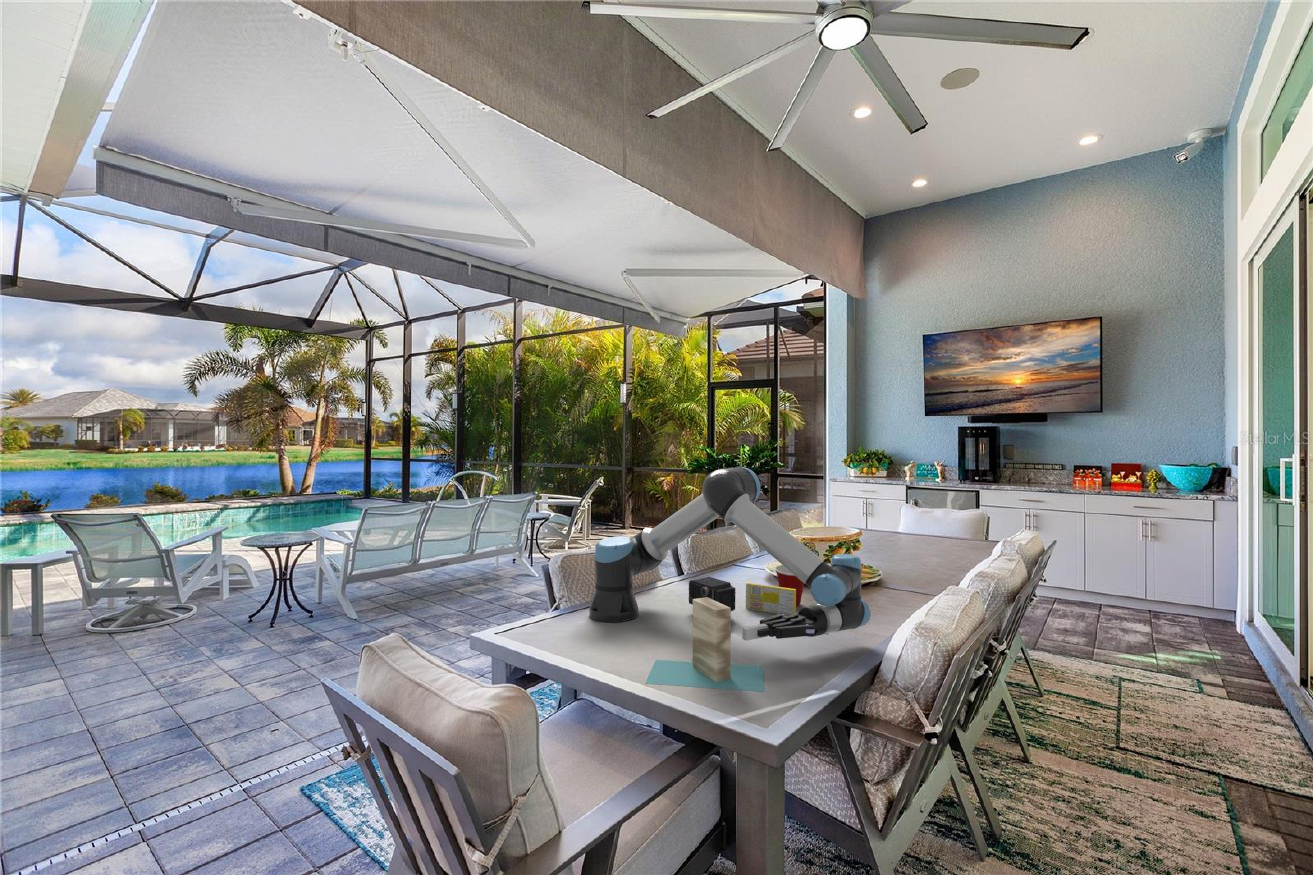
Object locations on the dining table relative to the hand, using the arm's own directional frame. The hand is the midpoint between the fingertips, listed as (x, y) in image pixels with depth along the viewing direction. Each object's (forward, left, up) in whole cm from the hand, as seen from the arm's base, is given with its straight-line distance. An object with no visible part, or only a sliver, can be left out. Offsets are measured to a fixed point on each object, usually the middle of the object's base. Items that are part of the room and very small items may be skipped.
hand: (744, 634), depth 141 cm
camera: (-11, +39, -8) cm, 42 cm away
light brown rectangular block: (-8, -6, -7) cm, 12 cm away
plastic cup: (+14, +55, -8) cm, 58 cm away
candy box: (+7, +46, -8) cm, 48 cm away
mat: (-9, -7, -8) cm, 14 cm away
